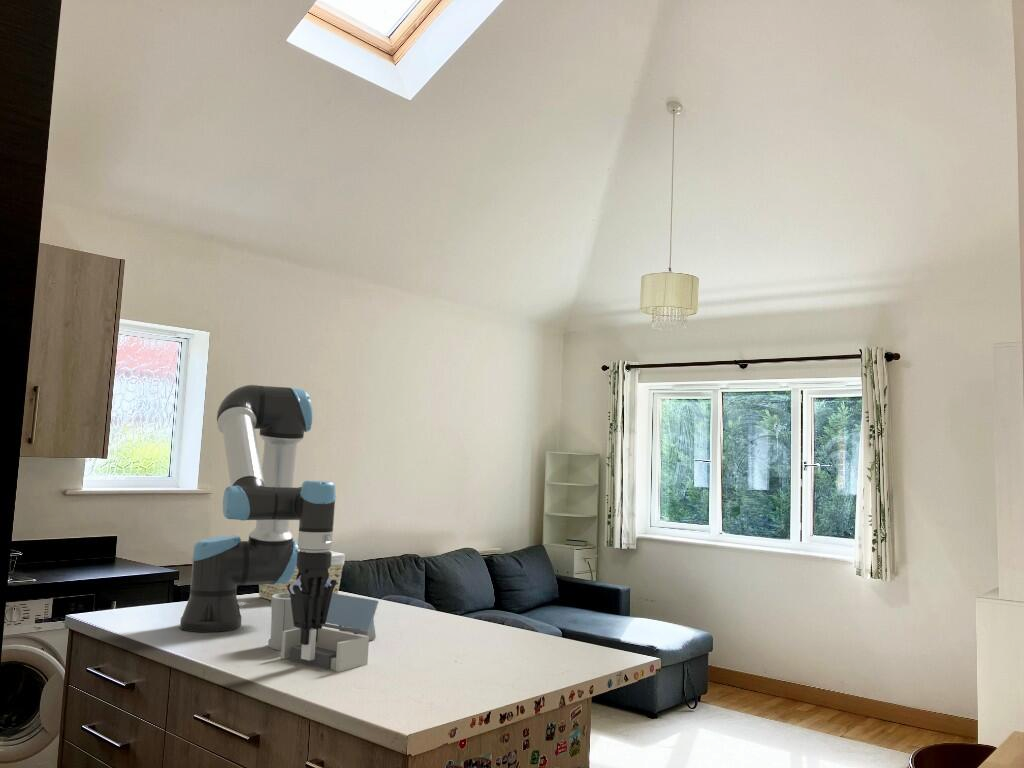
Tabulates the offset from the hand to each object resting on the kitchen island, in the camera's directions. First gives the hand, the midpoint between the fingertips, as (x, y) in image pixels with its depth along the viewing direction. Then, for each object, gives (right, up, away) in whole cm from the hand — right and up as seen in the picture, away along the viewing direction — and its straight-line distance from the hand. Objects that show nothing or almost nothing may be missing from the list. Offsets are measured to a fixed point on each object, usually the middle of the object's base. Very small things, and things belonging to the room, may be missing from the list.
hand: (307, 658), depth 176 cm
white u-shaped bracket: (+3, -2, +5) cm, 6 cm away
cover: (+6, +8, +9) cm, 13 cm away
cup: (-9, -3, +16) cm, 19 cm away
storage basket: (-24, -9, +83) cm, 87 cm away
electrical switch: (+5, -4, +25) cm, 26 cm away
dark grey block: (+1, -2, +2) cm, 3 cm away
